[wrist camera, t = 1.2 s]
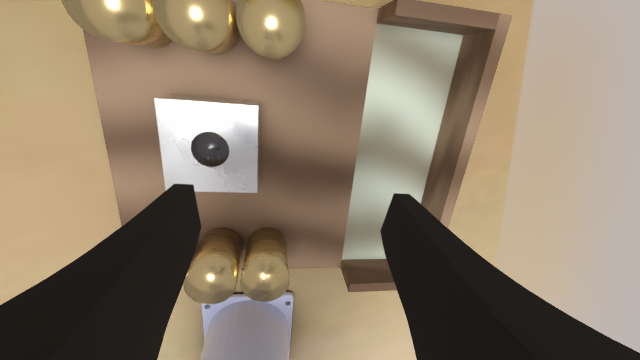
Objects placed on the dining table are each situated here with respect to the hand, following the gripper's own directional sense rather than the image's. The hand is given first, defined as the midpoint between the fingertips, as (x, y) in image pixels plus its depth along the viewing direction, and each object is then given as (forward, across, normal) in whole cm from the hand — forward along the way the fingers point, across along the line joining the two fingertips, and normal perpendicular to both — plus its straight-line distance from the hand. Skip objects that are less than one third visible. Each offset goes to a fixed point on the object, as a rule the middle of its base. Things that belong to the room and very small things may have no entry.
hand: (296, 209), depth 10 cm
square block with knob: (+10, +5, +3) cm, 11 cm away
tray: (+10, 0, +4) cm, 11 cm away
